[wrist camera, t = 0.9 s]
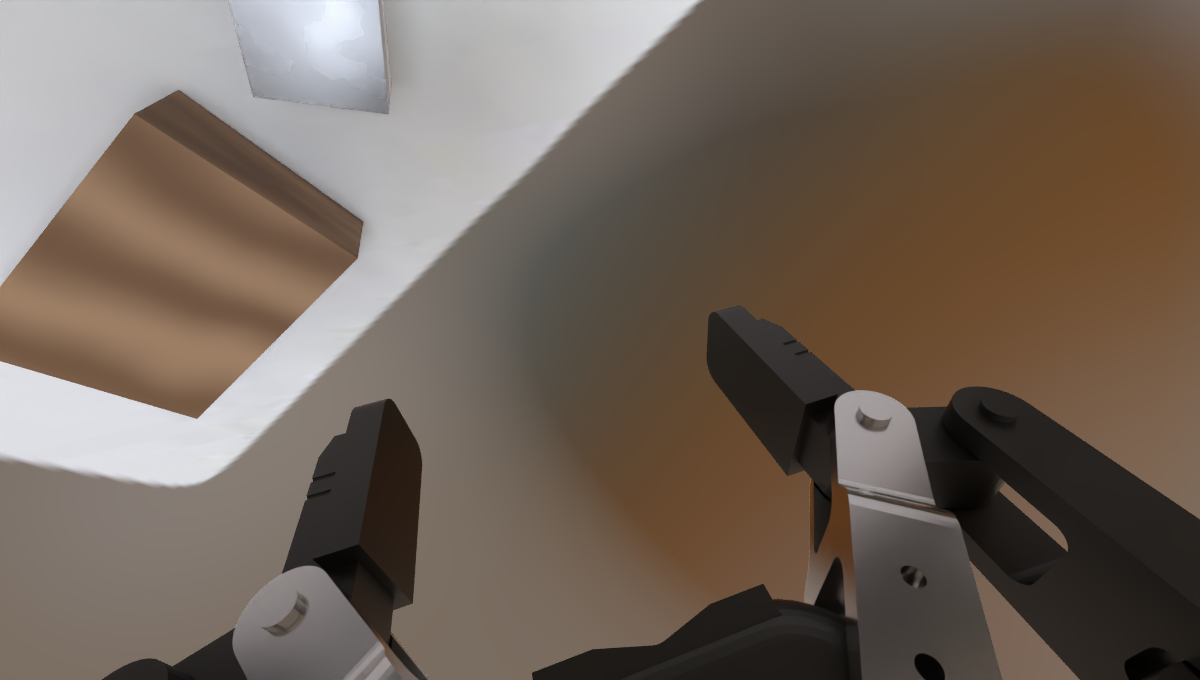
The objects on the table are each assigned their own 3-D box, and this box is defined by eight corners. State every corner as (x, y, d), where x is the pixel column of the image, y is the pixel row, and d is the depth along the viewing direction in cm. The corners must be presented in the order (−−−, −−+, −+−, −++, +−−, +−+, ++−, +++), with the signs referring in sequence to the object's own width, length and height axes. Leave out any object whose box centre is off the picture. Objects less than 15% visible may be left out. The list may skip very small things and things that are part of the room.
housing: (286, 68, 22) (253, 96, 17) (251, -97, 19) (197, -120, 14) (391, 84, 24) (388, 114, 19) (378, -63, 21) (371, -72, 16)
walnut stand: (220, 367, 31) (197, 418, 28) (18, 292, 24) (-47, 347, 21) (363, 221, 28) (357, 258, 25) (178, 90, 21) (134, 113, 18)
